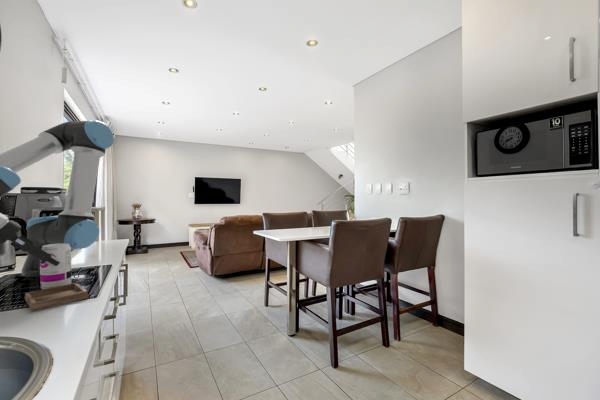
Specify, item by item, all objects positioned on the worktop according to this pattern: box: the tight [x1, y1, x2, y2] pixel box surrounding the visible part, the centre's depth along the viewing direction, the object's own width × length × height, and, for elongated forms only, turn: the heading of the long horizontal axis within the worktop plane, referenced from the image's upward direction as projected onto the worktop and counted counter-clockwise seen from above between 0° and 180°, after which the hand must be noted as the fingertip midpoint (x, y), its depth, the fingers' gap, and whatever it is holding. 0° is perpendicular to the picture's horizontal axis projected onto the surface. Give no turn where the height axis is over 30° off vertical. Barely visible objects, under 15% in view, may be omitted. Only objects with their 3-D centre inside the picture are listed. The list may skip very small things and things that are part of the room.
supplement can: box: [39, 243, 72, 290], centre depth 96 cm, size 8×8×15 cm
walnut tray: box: [24, 282, 89, 312], centre depth 85 cm, size 13×13×2 cm
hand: (61, 266), depth 97 cm, fingers open, 13 cm apart
